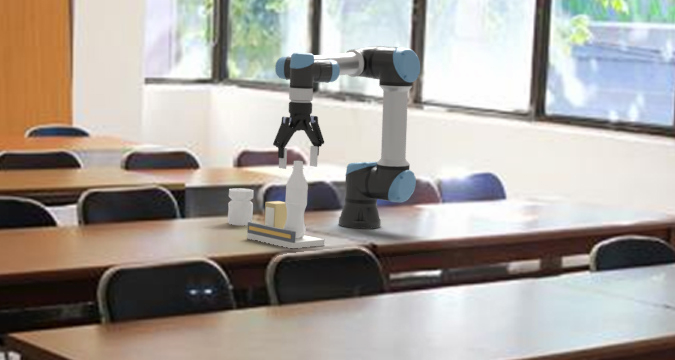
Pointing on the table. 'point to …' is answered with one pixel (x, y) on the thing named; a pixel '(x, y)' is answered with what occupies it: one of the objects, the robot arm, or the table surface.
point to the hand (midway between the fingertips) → (298, 167)
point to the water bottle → (296, 200)
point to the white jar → (240, 206)
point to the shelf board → (280, 236)
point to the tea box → (275, 214)
